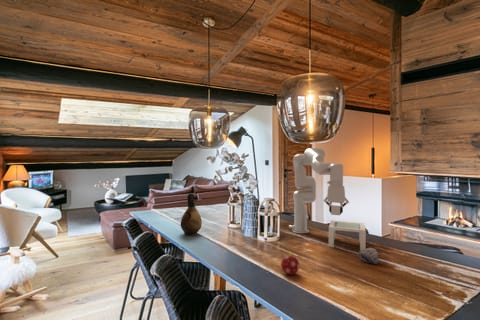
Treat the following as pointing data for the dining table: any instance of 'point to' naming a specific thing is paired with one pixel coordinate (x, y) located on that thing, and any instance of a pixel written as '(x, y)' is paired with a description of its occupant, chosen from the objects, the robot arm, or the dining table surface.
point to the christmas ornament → (290, 264)
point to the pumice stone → (369, 256)
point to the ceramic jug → (191, 218)
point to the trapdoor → (347, 225)
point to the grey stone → (335, 210)
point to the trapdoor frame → (361, 230)
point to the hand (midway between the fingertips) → (335, 213)
